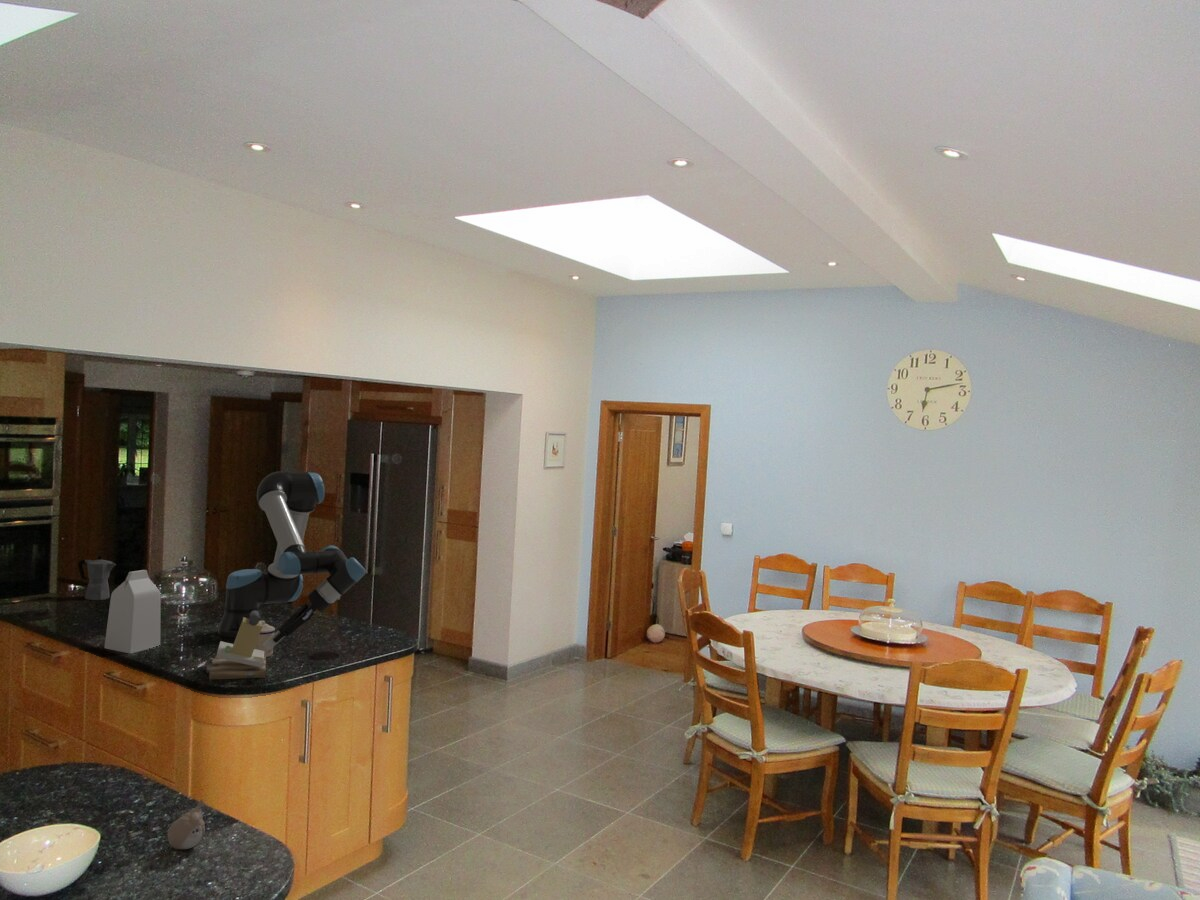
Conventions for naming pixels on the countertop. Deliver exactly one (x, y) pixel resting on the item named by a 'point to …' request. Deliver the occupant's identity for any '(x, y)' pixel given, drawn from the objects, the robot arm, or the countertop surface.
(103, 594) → the coffeepot
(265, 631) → the teacup with lid
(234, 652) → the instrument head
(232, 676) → the brown layered stack
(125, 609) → the milk
